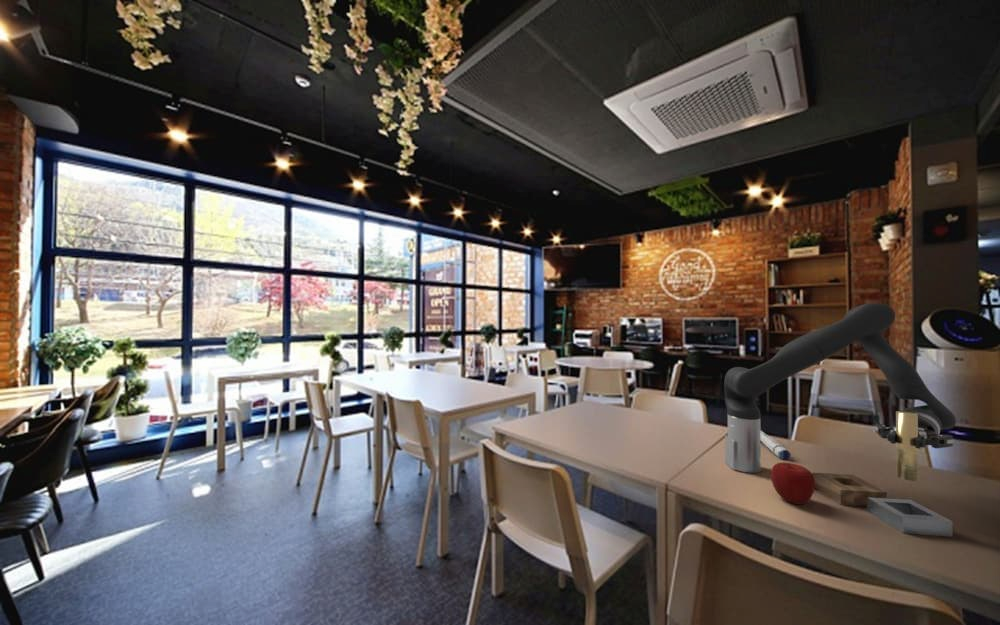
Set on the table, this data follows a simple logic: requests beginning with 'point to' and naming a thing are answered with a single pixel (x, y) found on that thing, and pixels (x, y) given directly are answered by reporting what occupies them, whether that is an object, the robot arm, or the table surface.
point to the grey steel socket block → (909, 517)
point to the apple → (793, 482)
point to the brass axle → (907, 445)
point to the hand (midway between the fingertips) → (904, 441)
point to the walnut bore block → (847, 488)
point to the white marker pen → (775, 447)
